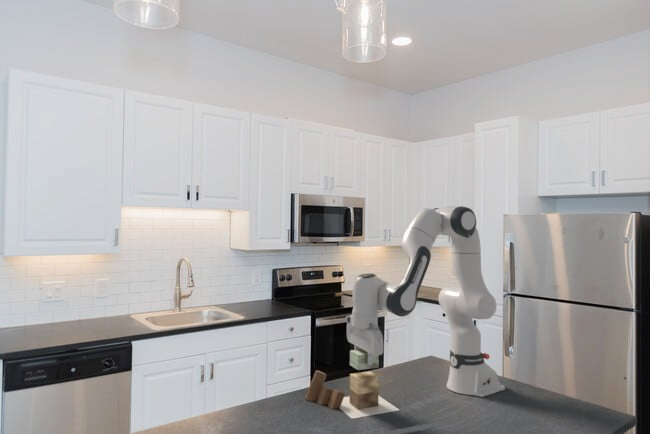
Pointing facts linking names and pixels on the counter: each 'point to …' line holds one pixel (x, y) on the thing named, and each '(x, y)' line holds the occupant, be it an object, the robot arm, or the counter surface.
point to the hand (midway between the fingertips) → (364, 361)
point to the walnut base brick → (364, 399)
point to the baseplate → (354, 413)
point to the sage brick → (362, 360)
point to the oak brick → (364, 382)
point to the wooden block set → (323, 392)
